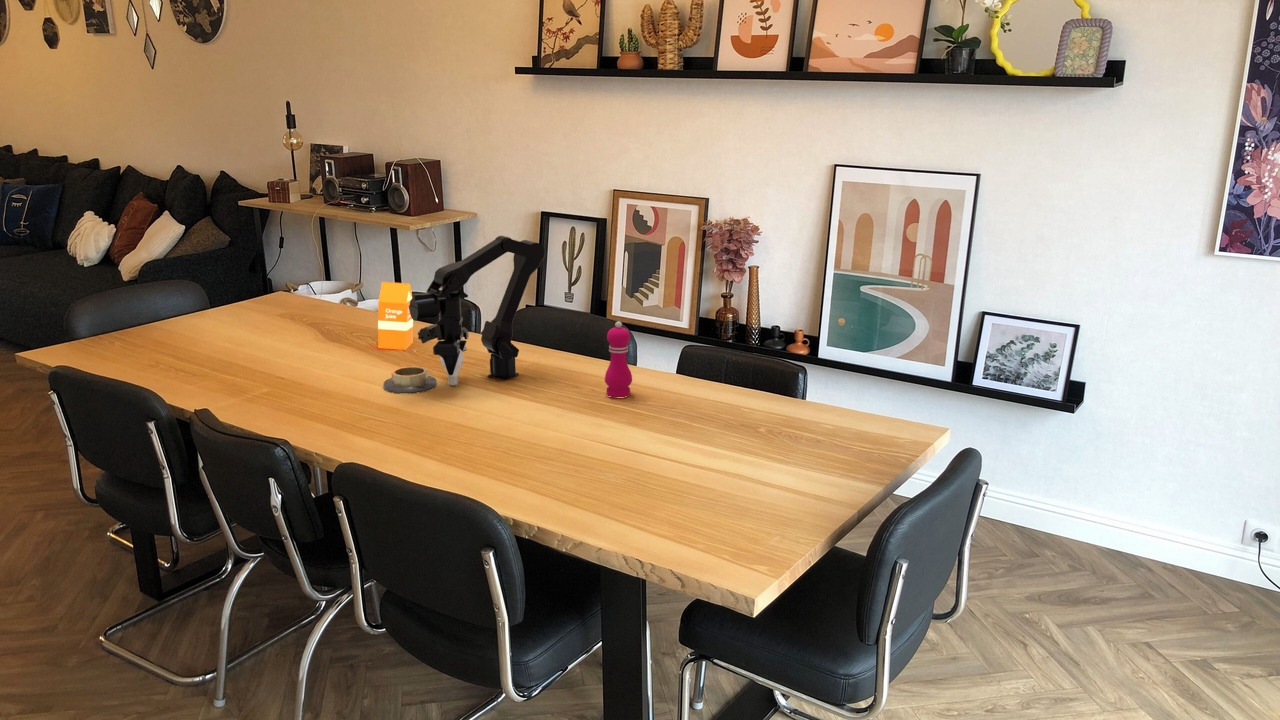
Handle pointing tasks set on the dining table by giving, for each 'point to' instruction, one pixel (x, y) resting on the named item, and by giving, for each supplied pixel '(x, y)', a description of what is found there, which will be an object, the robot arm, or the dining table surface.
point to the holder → (410, 380)
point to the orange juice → (395, 316)
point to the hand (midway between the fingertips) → (452, 371)
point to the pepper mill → (618, 362)
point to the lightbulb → (454, 378)
